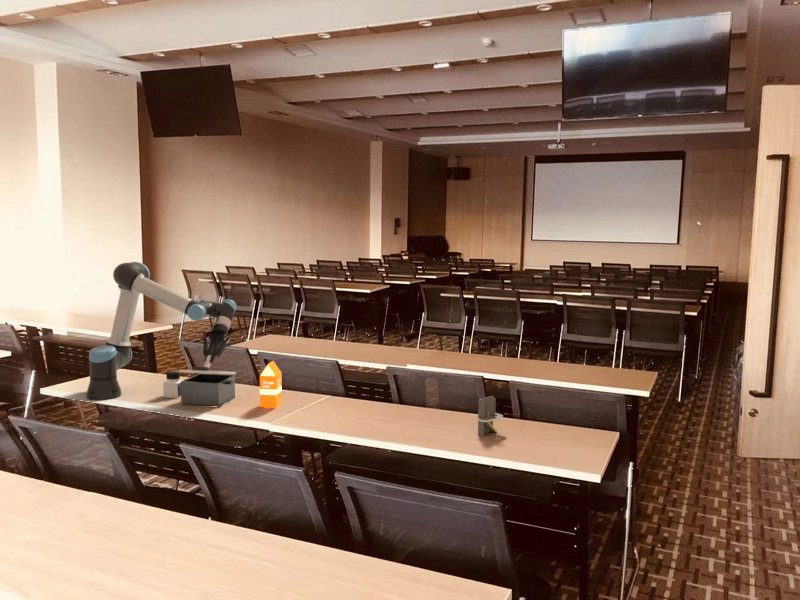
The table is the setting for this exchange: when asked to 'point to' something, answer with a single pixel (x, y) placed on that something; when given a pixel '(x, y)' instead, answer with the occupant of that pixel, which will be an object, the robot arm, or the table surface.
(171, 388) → the medicine bottle
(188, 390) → the grey storage box
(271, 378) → the orange juice
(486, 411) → the architectural model
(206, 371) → the gray box lid
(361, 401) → the table surface
